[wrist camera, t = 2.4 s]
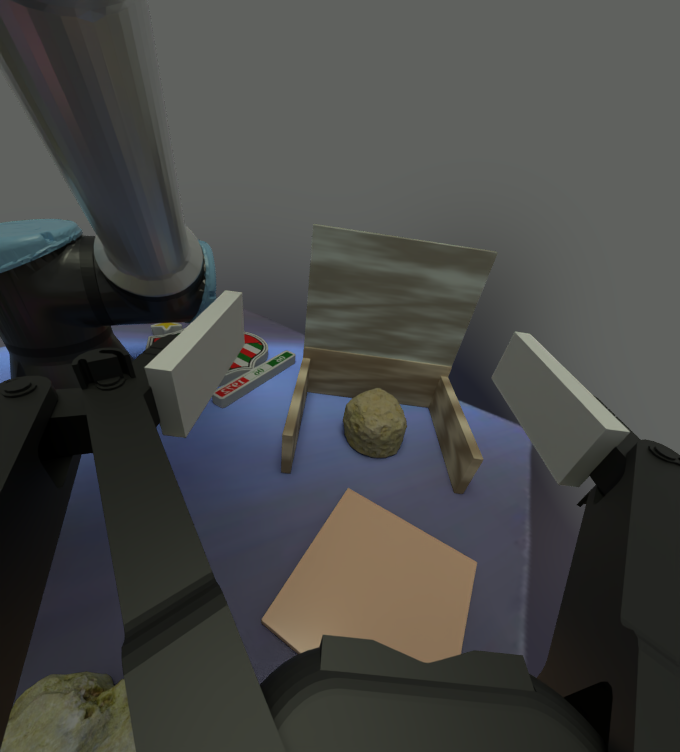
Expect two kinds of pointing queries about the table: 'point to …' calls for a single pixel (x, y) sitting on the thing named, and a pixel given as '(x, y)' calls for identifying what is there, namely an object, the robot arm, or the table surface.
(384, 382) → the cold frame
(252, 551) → the table surface
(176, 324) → the decorative emblem
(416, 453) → the table surface
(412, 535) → the terracotta tile
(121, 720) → the rock
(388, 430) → the olive rounded lump
